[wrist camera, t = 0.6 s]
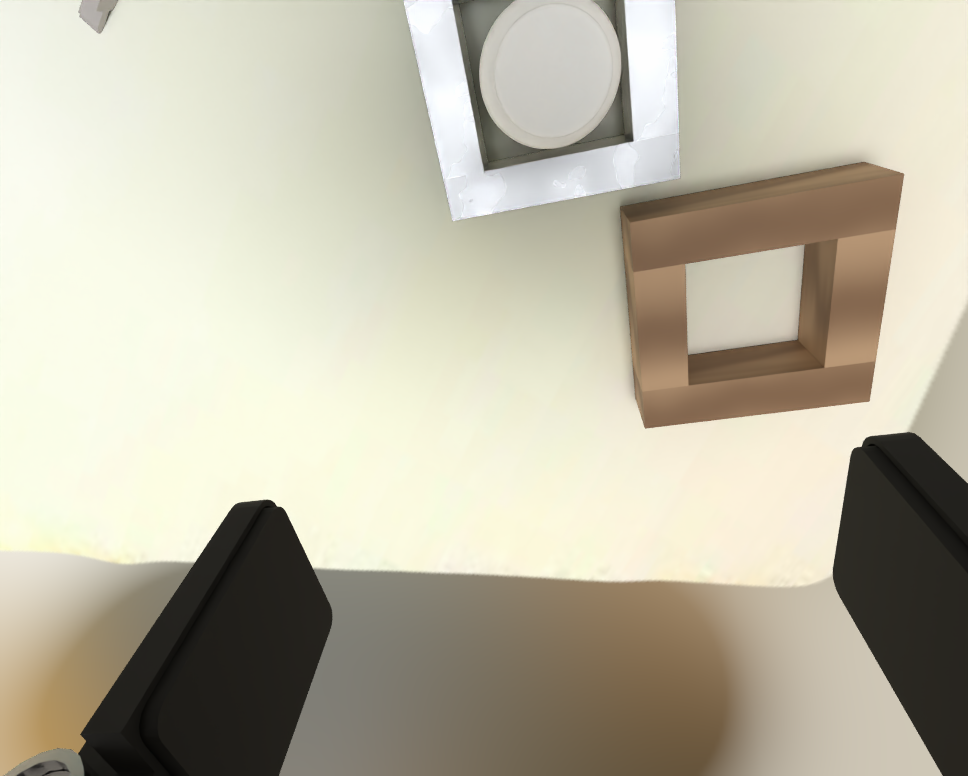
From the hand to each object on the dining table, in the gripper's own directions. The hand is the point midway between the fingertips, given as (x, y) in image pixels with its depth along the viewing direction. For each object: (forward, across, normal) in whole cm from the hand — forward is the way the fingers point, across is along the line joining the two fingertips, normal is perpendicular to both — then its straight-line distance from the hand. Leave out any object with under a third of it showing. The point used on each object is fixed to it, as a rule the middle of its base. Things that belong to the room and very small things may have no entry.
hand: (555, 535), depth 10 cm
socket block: (+24, -1, -6) cm, 25 cm away
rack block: (+24, -10, +6) cm, 27 cm away
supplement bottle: (+24, -1, -6) cm, 25 cm away
